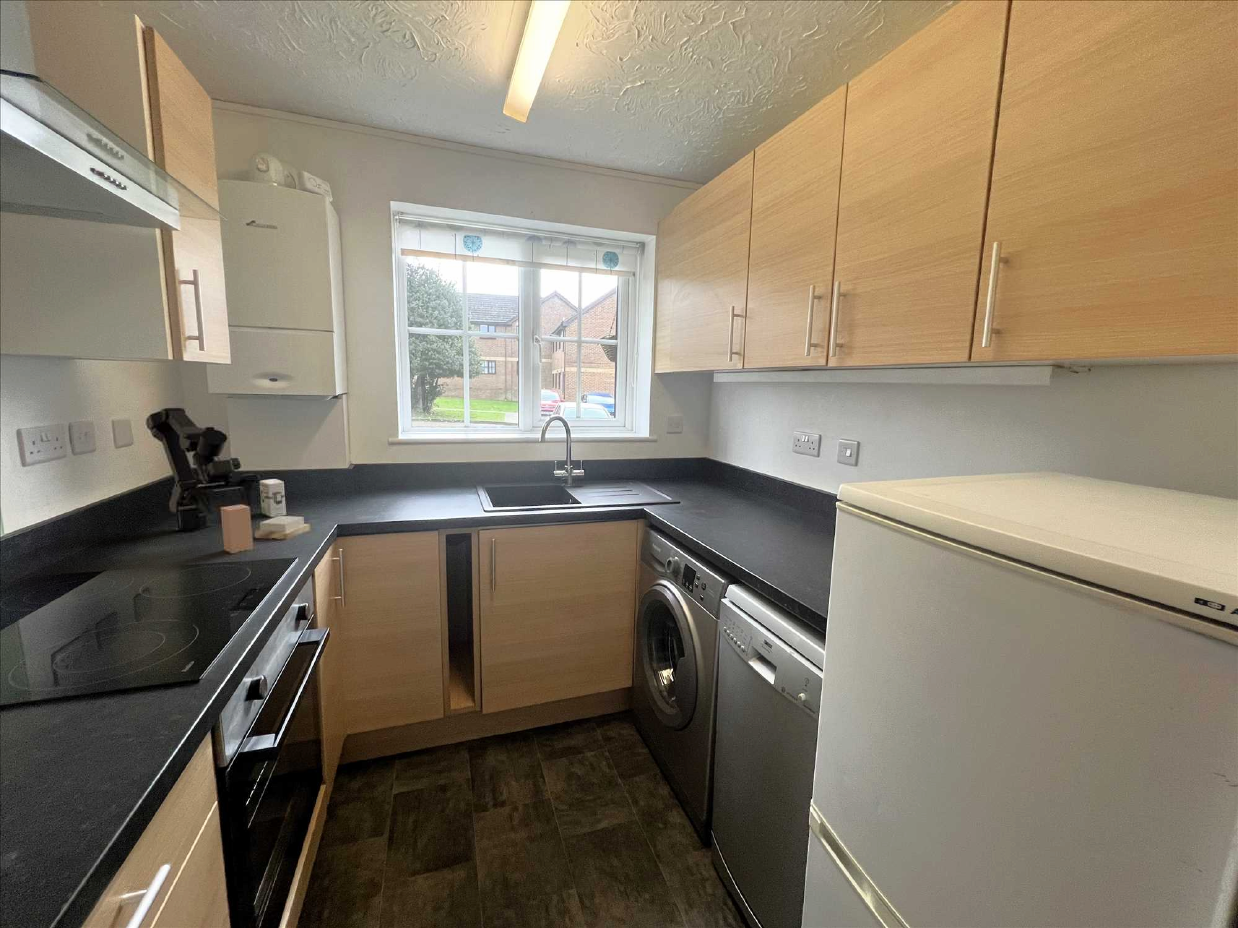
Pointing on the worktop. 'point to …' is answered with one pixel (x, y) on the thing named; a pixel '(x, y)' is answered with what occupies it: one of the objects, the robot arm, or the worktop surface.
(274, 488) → the ink box
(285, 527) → the top slab
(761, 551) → the worktop surface
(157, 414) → the robot arm
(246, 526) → the pillar block
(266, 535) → the base slab
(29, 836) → the worktop surface
